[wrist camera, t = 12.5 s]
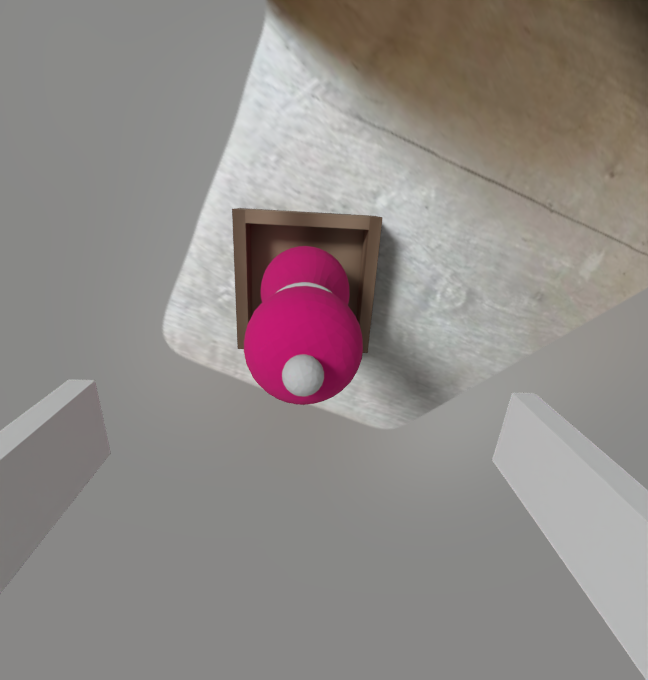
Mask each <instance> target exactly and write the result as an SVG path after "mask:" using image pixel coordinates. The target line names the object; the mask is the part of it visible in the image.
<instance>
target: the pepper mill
mask: <svg viewBox="0 0 648 680" xmlns="http://www.w3.org/2000/svg"><path fill="white" fill-rule="evenodd" d="M349 296H350V295H349V283H348V278H347V275H346V272H345V270H344V269H343V267H342V265H341V264H340V263H339V261H338V260H337V259H336V258H335V257H333V256H332V255H331V254H329V253H328V252H326V251H324V250H322V249H319V248H316V247H310V246H299V247H294V248H290V249H288V250H285V251H284V252H282V253H280V254H279V255H278V256H276V257H275V258H274V259H273V260H272V261H271V263H270V264H269V265H268V267H267V269H266V270H265V273H264V275H263V279H262V283H261V300H262V303H261V304H260V305H259V306H258V308H257V309H256V310H255V311H254V313H253V315H252V317H251V319H250V321H249V323H248V325H247V328H246V332H245V339H244V353H245V359H246V364H247V366H248V368H249V370H250V372H251V374H252V376H253V378H254V379H255V380H256V382H257V383H258V384H259V385H260V386H261V387H262V388H263V389H264V390H265V391H266V392H267V393H269V394H270V395H272V396H274V397H275V398H277V399H279V400H282V401H284V402H288V403H293V404H301V405H305V404H314V403H318V402H321V401H324V400H327V399H329V398H331V397H333V396H335V395H336V394H338V393H339V392H341V391H342V390H343V389H344V388H345V387H346V386H347V385H348V384H349V383H350V382H351V380H352V379H353V377H354V376H355V374H356V372H357V370H358V368H359V365H360V362H361V359H362V352H363V342H362V333H361V329H360V325H359V323H358V321H357V319H356V316H355V315H354V313H353V312H352V310H351V309H350V308H349V306H348V302H349Z"/></svg>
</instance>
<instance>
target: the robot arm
mask: <svg viewBox="0 0 648 680" xmlns="http://www.w3.org/2000/svg"><path fill="white" fill-rule="evenodd" d="M110 454H111V451H110V447H109V442H108V438H107V433H106V429H105V424H104V420H103V415H102V410H101V406H100V401H99V397H98V392H97V388H96V383H95V380H68V381H66V382H65V383H64V384H62V385H61V386H60V387H58V388H57V389H56V390H54V391H53V392H52V393H50V394H49V395H48V396H46V397H45V398H44V399H42V400H41V401H39V402H38V403H37V404H35V405H34V406H33V407H32V408H30V409H29V410H27V411H26V412H25V413H23V414H22V415H21V416H19V417H18V418H17V419H15V420H14V421H13V422H11V423H10V424H9V425H7V426H6V427H5V428H3V429H2V430H1V431H0V594H1V592H2V591H3V590H4V589H5V587H6V586H7V585H8V583H9V582H10V581H11V579H12V578H13V577H14V576H15V575H16V573H17V572H18V571H19V569H20V568H21V567H22V566H23V564H24V563H25V562H26V561H27V559H28V558H29V557H30V555H31V554H32V553H33V551H34V550H35V549H36V548H37V547H38V545H39V544H40V543H41V541H42V540H43V539H44V538H45V536H46V535H47V534H48V532H49V531H50V530H51V528H52V527H53V526H54V525H55V524H56V522H57V521H58V520H59V518H60V517H61V516H62V515H63V513H64V512H65V511H66V510H67V508H68V507H69V506H70V504H71V503H72V502H73V501H74V499H75V498H76V497H77V496H78V494H79V493H80V492H81V490H82V489H83V488H84V487H85V485H86V484H87V483H88V482H89V480H90V479H91V478H92V476H93V475H94V474H95V473H96V471H97V470H98V469H99V467H100V466H101V465H102V464H103V463H104V461H105V460H106V459H107V457H108V456H109V455H110ZM492 460H493V462H494V463H495V465H496V466H497V468H498V469H499V470H500V472H501V473H502V475H503V476H504V478H505V479H506V480H507V482H508V483H509V485H510V486H511V488H512V489H513V490H514V492H515V493H516V495H517V496H518V498H519V499H520V500H521V502H522V503H523V505H524V506H525V508H526V509H527V510H528V512H529V513H530V515H531V516H532V517H533V519H534V520H535V522H536V523H537V525H538V526H539V528H540V529H541V530H542V532H543V533H544V535H545V536H546V538H547V539H548V540H549V542H550V543H551V545H552V546H553V548H554V549H555V550H556V552H557V553H558V555H559V556H560V558H561V559H562V560H563V562H564V563H565V565H566V566H567V568H568V569H569V570H570V572H571V573H572V575H573V576H574V578H575V579H576V580H577V582H578V583H579V585H580V586H581V587H582V589H583V591H584V592H585V593H586V595H587V596H588V598H589V599H590V600H591V602H592V603H593V605H594V606H595V608H596V609H597V610H598V612H599V613H600V615H601V616H602V617H603V619H604V621H605V622H606V623H607V625H608V626H609V628H610V629H611V631H612V632H613V633H614V635H615V636H616V638H617V639H618V641H619V642H620V643H621V645H622V646H623V648H624V649H625V650H626V652H627V653H628V655H629V656H630V658H631V659H632V661H633V662H634V663H635V665H636V666H637V668H638V669H639V671H640V672H641V673H642V675H643V676H644V678H645V679H646V680H648V490H647V489H646V488H644V487H643V486H642V485H641V484H639V483H638V482H637V481H636V480H635V479H634V478H633V477H632V476H631V475H629V474H628V473H627V472H626V471H625V470H624V469H622V468H621V467H620V466H619V465H618V464H617V463H615V462H614V461H613V460H612V459H611V458H609V457H608V456H607V455H606V454H605V453H604V452H603V451H601V450H600V449H599V448H598V447H597V446H596V445H595V444H593V443H592V442H591V441H590V440H589V439H588V438H586V437H585V436H584V435H583V434H582V433H581V432H579V431H578V430H577V429H576V428H575V427H574V426H572V425H571V424H570V423H569V422H568V421H567V420H565V419H564V418H563V417H562V416H561V415H560V414H558V413H557V412H556V411H555V410H554V409H553V408H551V407H550V406H549V405H548V404H547V403H546V402H544V401H543V400H542V399H541V398H540V397H539V396H538V395H536V394H535V393H512V395H511V399H510V402H509V405H508V409H507V413H506V416H505V419H504V422H503V426H502V429H501V432H500V436H499V439H498V443H497V446H496V449H495V452H494V456H493V459H492Z"/></svg>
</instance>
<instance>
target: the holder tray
mask: <svg viewBox="0 0 648 680" xmlns="http://www.w3.org/2000/svg"><path fill="white" fill-rule="evenodd" d="M232 216H233V241H234V267H235V292H236V317H237V342H238V349H244V339H245V332H246V328H247V325H248V323H249V321H250V319H251V317H252V315H253V313H254V311H255V310H256V309H257V308H258V306H259V305H260V304H261V303H262V300H261V283H262V279H263V275H264V273H265V270H266V269H267V267H268V265H269V264H270V263H271V261H272V260H273V259H274V258H275V257H276V256H278V255H279V254H280V253H282V252H284V251H285V250H288V249H290V248H294V247H299V246H310V247H316V248H319V249H322V250H324V251H326V252H328V253H329V254H331V255H332V256H333V257H335V258H336V259H337V260H338V261H339V263H340V264H341V265H342V267H343V269H344V270H345V272H346V275H347V278H348V283H349V295H350V296H349V302H348V306H349V308H350V309H351V310H352V312H353V313H354V315H355V316H356V319H357V321H358V323H359V325H360V329H361V333H362V342H363V352H362V353H368V344H369V334H370V325H371V316H372V307H373V298H374V289H375V280H376V271H377V262H378V253H379V244H380V234H381V225H382V217H377V216H367V215H350V214H332V213H315V212H297V211H279V210H262V209H244V208H237V209H232Z"/></svg>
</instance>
